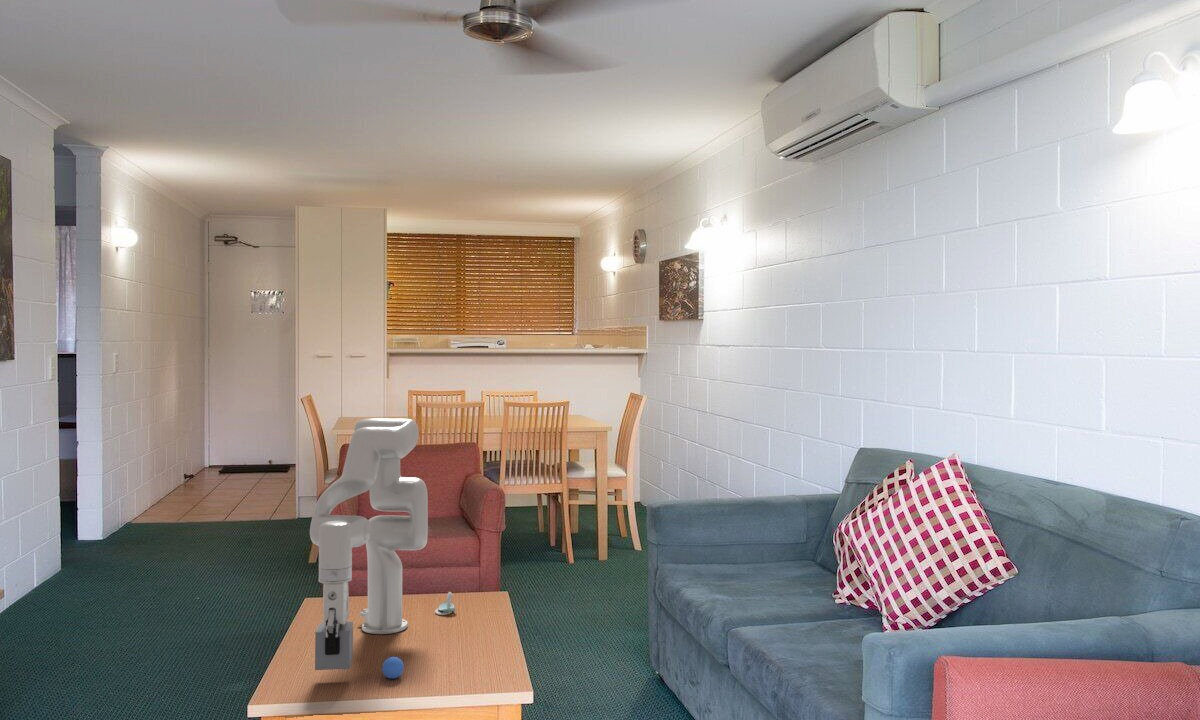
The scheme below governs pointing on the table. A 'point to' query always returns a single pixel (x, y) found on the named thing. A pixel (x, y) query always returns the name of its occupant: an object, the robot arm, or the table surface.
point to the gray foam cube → (346, 648)
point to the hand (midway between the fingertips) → (334, 648)
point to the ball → (392, 667)
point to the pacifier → (446, 606)
